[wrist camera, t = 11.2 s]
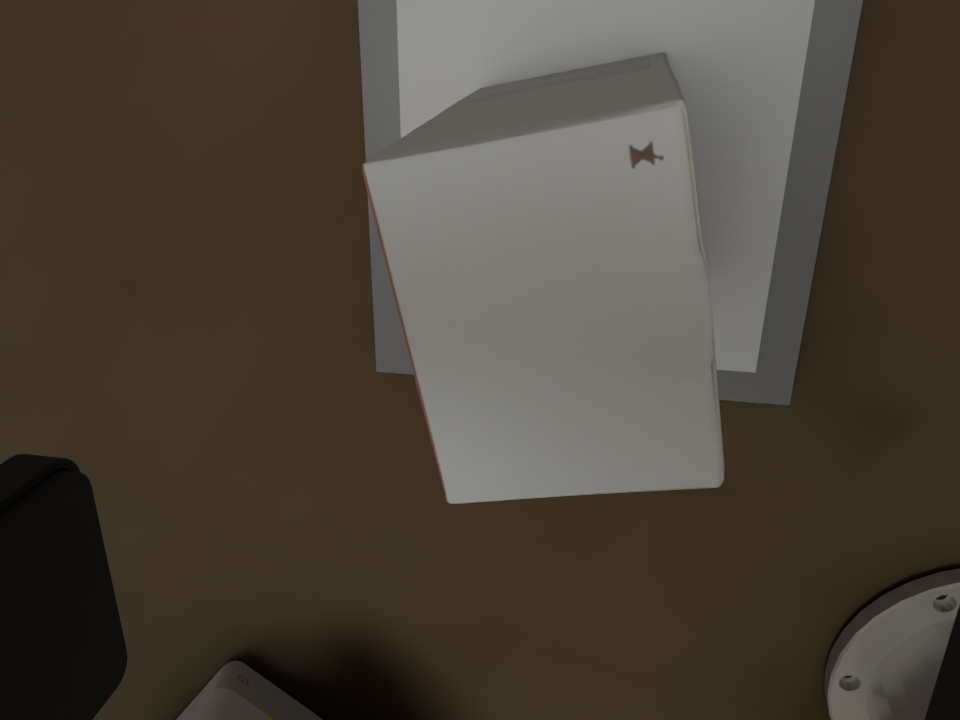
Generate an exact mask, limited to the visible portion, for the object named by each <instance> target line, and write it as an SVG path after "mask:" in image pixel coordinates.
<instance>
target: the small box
mask: <svg viewBox="0 0 960 720" xmlns="http://www.w3.org/2000/svg"><path fill="white" fill-rule="evenodd" d="M362 173H363V177H364V181H365V185H366V189H367V193H368V197H369V201H370V205H371V209H372V212H373V216H374V220H375V224H376V228H377V232H378V235H379V239H380V243H381V247H382V251H383V255H384V259H385V263H386V267H387V271H388V274H389V278H390V282H391V286H392V290H393V294H394V298H395V302H396V306H397V310H398V314H399V317H400V321H401V325H402V329H403V333H404V337H405V341H406V345H407V350H408V353H409V357H410V360H411V364H412V368H413V372H414V377H415V381H416V385H417V389H418V393H419V397H420V400H421V404H422V407H423V411H424V415H425V419H426V423H427V427H428V431H429V435H430V438H431V442H432V446H433V450H434V454H435V458H436V462H437V466H438V469H439V473H440V477H441V481H442V485H443V489H444V492H445V496H446V501H447V502H448V503H451V504H459V503H472V502H487V501H501V500H514V499H528V498H543V497H557V496H571V495H589V494H607V493H625V492H643V491H661V490H679V489H699V488H717V487H720V486H721V484H722V482H723V481H724V455H723V443H722V431H721V419H720V406H719V394H718V382H717V370H716V358H715V345H714V332H713V318H712V304H711V295H710V285H709V271H708V265H707V259H706V255H705V250H704V242H703V235H702V227H701V219H700V210H699V201H698V193H697V184H696V175H695V166H694V157H693V149H692V141H691V132H690V124H689V116H688V110H687V104H686V101H685V99H684V96H683V93H682V91H681V89H680V86H679V83H678V81H677V79H676V77H675V75H674V73H673V71H672V69H671V67H670V64H669V60H668V56H667V54H666V53H664V52H662V53H657V54H651V55H646V56H641V57H636V58H631V59H626V60H621V61H616V62H611V63H606V64H601V65H596V66H591V67H586V68H581V69H576V70H571V71H566V72H561V73H556V74H551V75H545V76H540V77H535V78H530V79H524V80H519V81H514V82H509V83H504V84H498V85H493V86H489V87H484V88H480V89H478V90H476V91H474V92H473V93H471V94H470V95H468V96H467V97H465V98H463V99H461V100H459V101H458V102H456V103H455V104H453V105H451V106H450V107H448V108H447V109H445V110H444V111H442V112H441V113H439V114H438V115H437V116H435V117H434V118H432V119H430V120H429V121H427V122H425V123H424V124H423V125H421V126H419V127H417V128H416V129H414V130H413V131H411V132H410V133H409V134H407V135H406V136H404V137H403V138H401V139H400V140H398V141H397V142H395V143H394V144H392V145H390V146H388V147H387V148H385V149H384V150H383V151H381V152H380V153H378V154H376V155H375V156H374V157H372V158H371V159H369V160H368V161H367V162H365V163H364V164H363V165H362Z"/></svg>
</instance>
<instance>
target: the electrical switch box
mask: <svg viewBox="0 0 960 720" xmlns="http://www.w3.org/2000/svg"><path fill="white" fill-rule="evenodd" d="M176 720H323V719H322V718H320V717H319V716H317V715H316V714H315V713H313V712H312V711H310V710H309V709H308V708H306V707H305V706H303V705H302V704H300V703H299V702H298V701H296V700H295V699H293V698H292V697H291V696H289V695H288V694H286V693H285V692H284V691H282V690H281V689H279V688H278V687H277V686H275V685H274V684H272V683H271V682H270V681H268V680H267V679H265V678H264V677H263V676H261V675H260V674H258V673H257V672H256V671H254V670H253V669H251V668H250V667H248V666H247V665H246V664H244V663H243V662H240V661H231V662H229V663H227V664H226V665H224V666H223V667H222V668H221V670H220V671H219V672H218V673H217V674H216V675H215V676H214V677H213V678H212V679H211V681H210V682H209V683H208V684H207V685H206V686H205V687H204V688H203V690H202V691H201V692H200V693H199V694H198V695H197V696H196V698H195V699H194V700H193V701H192V702H191V703H190V704H189V705H188V707H187V708H186V709H185V710H184V711H183V712H182V713H181V715H180V716H179V717H178V718H177V719H176Z"/></svg>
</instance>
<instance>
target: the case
mask: <svg viewBox="0 0 960 720" xmlns="http://www.w3.org/2000/svg"><path fill="white" fill-rule="evenodd" d="M862 3H863V0H358V13H359V33H360V53H361V73H362V93H363V113H364V132H365V152H366V162H367V161H368V160H369V159H371V158H372V157H374V156H375V155H376V154H378V153H380V152H381V151H383V150H384V149H385V148H387V147H388V146H390V145H392V144H394V143H395V142H397V141H398V140H400V139H401V138H403V137H404V136H406V135H407V134H409V133H410V132H411V131H413V130H414V129H416V128H417V127H419V126H421V125H423V124H424V123H425V122H427V121H429V120H430V119H432V118H434V117H435V116H437V115H438V114H439V113H441V112H442V111H444V110H445V109H447V108H448V107H450V106H451V105H453V104H455V103H456V102H458V101H459V100H461V99H463V98H465V97H467V96H468V95H470V94H471V93H473V92H474V91H476V90H478V89H480V88H484V87H489V86H493V85H498V84H504V83H509V82H514V81H519V80H524V79H530V78H535V77H540V76H545V75H551V74H556V73H561V72H566V71H571V70H576V69H581V68H586V67H591V66H596V65H601V64H606V63H611V62H616V61H621V60H626V59H631V58H636V57H641V56H646V55H651V54H657V53H662V52H664V53H666V54H667V56H668V60H669V64H670V67H671V69H672V71H673V73H674V75H675V77H676V79H677V81H678V83H679V86H680V89H681V91H682V93H683V96H684V99H685V101H686V104H687V110H688V116H689V124H690V132H691V141H692V149H693V157H694V166H695V175H696V184H697V193H698V201H699V210H700V219H701V227H702V235H703V242H704V250H705V255H706V259H707V265H708V271H709V285H710V295H711V304H712V318H713V332H714V345H715V358H716V370H717V382H718V394H719V400H728V401H740V402H753V403H765V404H777V405H790V399H791V394H792V388H793V383H794V377H795V372H796V366H797V361H798V355H799V350H800V344H801V339H802V333H803V328H804V322H805V317H806V311H807V306H808V300H809V295H810V289H811V284H812V278H813V273H814V267H815V262H816V256H817V251H818V245H819V240H820V234H821V229H822V223H823V218H824V212H825V207H826V201H827V196H828V190H829V185H830V179H831V174H832V168H833V163H834V157H835V152H836V146H837V141H838V135H839V130H840V124H841V119H842V113H843V108H844V102H845V97H846V91H847V86H848V80H849V75H850V69H851V64H852V58H853V53H854V47H855V42H856V36H857V31H858V25H859V20H860V14H861V9H862ZM368 212H369V232H370V252H371V271H372V291H373V311H374V331H375V351H376V371H377V372H388V373H401V374H413V375H414V372H413V368H412V364H411V360H410V357H409V353H408V350H407V345H406V341H405V337H404V333H403V329H402V325H401V321H400V317H399V314H398V310H397V306H396V302H395V298H394V294H393V290H392V286H391V282H390V278H389V274H388V271H387V267H386V263H385V259H384V255H383V251H382V247H381V243H380V239H379V235H378V232H377V228H376V224H375V220H374V216H373V212H372V209H371V205H370V201H369V197H368Z"/></svg>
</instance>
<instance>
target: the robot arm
mask: <svg viewBox="0 0 960 720" xmlns="http://www.w3.org/2000/svg"><path fill="white" fill-rule="evenodd" d="M126 665H127V650H126V646H125V641H124V636H123V632H122V627H121V622H120V617H119V613H118V608H117V603H116V599H115V594H114V589H113V585H112V580H111V575H110V571H109V566H108V561H107V557H106V552H105V547H104V543H103V538H102V533H101V529H100V524H99V519H98V514H97V510H96V505H95V500H94V496H93V491H92V486H91V484H90V481H89V479H88V478H87V477H86V475H84V474H82V473H80V470H79V468H78V466H77V465H76V464H75V463H74V462H73V461H71V460H69V459H66V458H57V457H48V456H39V455H30V454H18V455H15V456H13V457H11V458H9V459H8V460H6V461H5V462H3V463H2V464H1V465H0V720H92V719H93V718H94V717H95V715H96V714H97V713H98V712H99V710H100V709H101V708H102V706H103V705H104V704H105V703H106V701H107V700H108V699H109V697H110V696H111V695H112V694H113V692H114V691H115V690H116V688H117V687H118V685H119V684H120V682H121V680H122V678H123V675H124V673H125V669H126ZM824 693H825V697H826V702H827V706H828V711H829V715H830V718H831V720H960V569H955V570H949V571H943V572H938V573H935V574H932V575H929V576H926V577H923V578H920V579H917V580H914V581H911V582H908V583H906V584H904V585H902V586H900V587H898V588H896V589H894V590H892V591H890V592H888V593H886V594H884V595H882V596H881V597H879V598H878V599H877V600H875V601H874V602H873V603H871V604H870V605H868V606H867V607H866V608H864V609H863V610H862V611H860V612H859V613H858V614H857V616H856V617H855V618H854V619H853V620H852V621H851V622H850V623H849V624H848V625H847V626H846V627H845V628H844V629H843V631H842V632H841V634H840V636H839V637H838V639H837V641H836V642H835V644H834V646H833V648H832V649H831V652H830V655H829V658H828V662H827V665H826V668H825V678H824Z"/></svg>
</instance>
